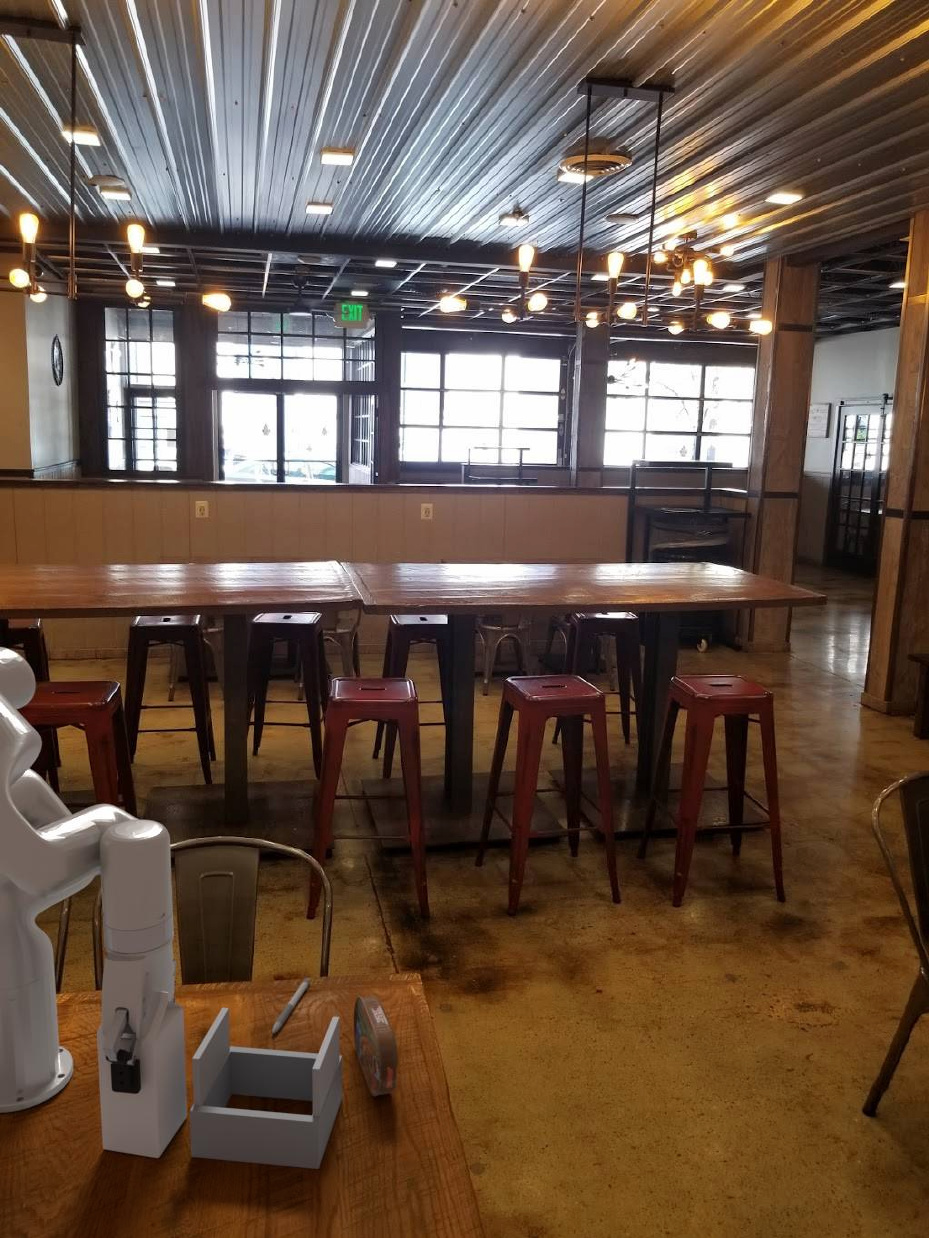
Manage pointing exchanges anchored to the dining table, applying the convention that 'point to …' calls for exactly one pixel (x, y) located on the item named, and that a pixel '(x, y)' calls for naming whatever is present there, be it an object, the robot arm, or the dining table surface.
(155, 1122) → the milk carton
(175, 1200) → the dining table surface
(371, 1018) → the tin
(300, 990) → the pen
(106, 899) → the robot arm
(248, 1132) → the flap box
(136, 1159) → the dining table surface
